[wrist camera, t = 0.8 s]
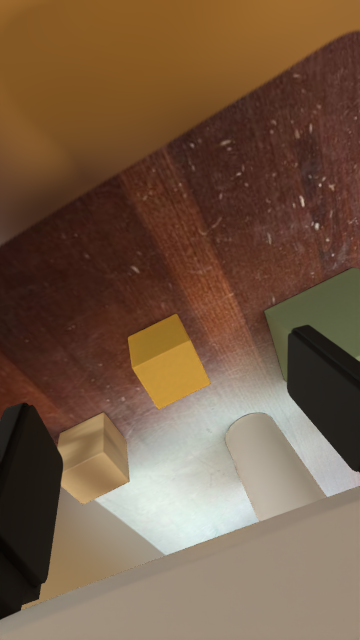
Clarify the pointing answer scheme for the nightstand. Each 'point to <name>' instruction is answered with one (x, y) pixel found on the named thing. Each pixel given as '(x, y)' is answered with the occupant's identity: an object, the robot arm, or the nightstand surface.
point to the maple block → (93, 458)
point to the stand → (320, 315)
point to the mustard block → (166, 362)
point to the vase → (269, 467)
